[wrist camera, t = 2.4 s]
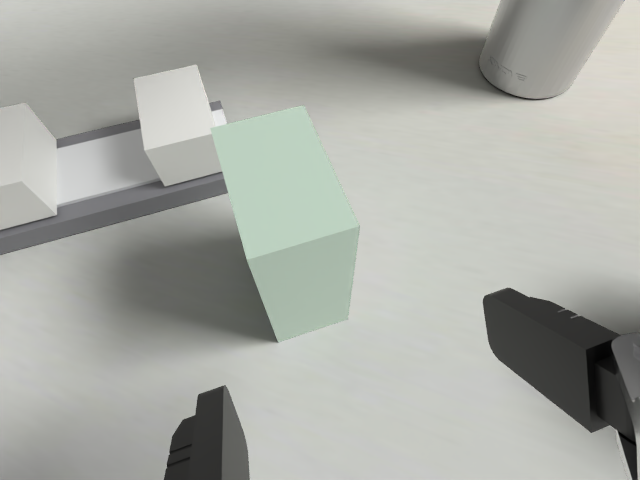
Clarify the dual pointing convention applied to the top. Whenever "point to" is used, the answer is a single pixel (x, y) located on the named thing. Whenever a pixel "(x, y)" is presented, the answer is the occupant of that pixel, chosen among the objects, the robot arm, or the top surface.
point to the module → (290, 219)
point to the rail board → (109, 163)
